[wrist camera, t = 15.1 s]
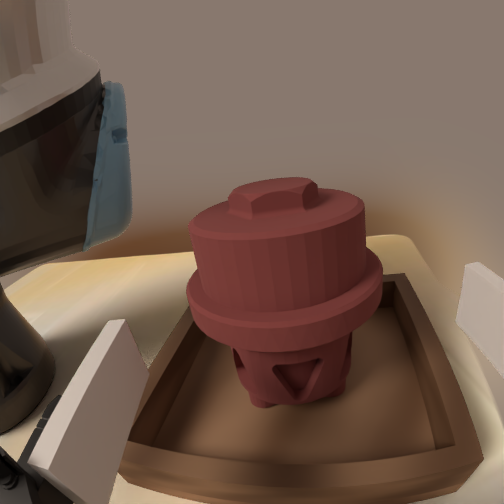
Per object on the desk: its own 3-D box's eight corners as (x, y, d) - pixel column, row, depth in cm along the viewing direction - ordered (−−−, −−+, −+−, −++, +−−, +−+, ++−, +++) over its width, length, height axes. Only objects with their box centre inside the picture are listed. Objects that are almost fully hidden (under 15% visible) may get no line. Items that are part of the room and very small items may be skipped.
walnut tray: (128, 482, 13) (97, 450, 11) (210, 319, 29) (201, 286, 28) (455, 491, 9) (483, 459, 7) (401, 309, 25) (404, 273, 24)
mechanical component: (213, 450, 14) (224, 343, 23) (394, 421, 14) (350, 324, 23) (131, 234, 10) (187, 185, 19) (425, 192, 9) (343, 163, 18)
